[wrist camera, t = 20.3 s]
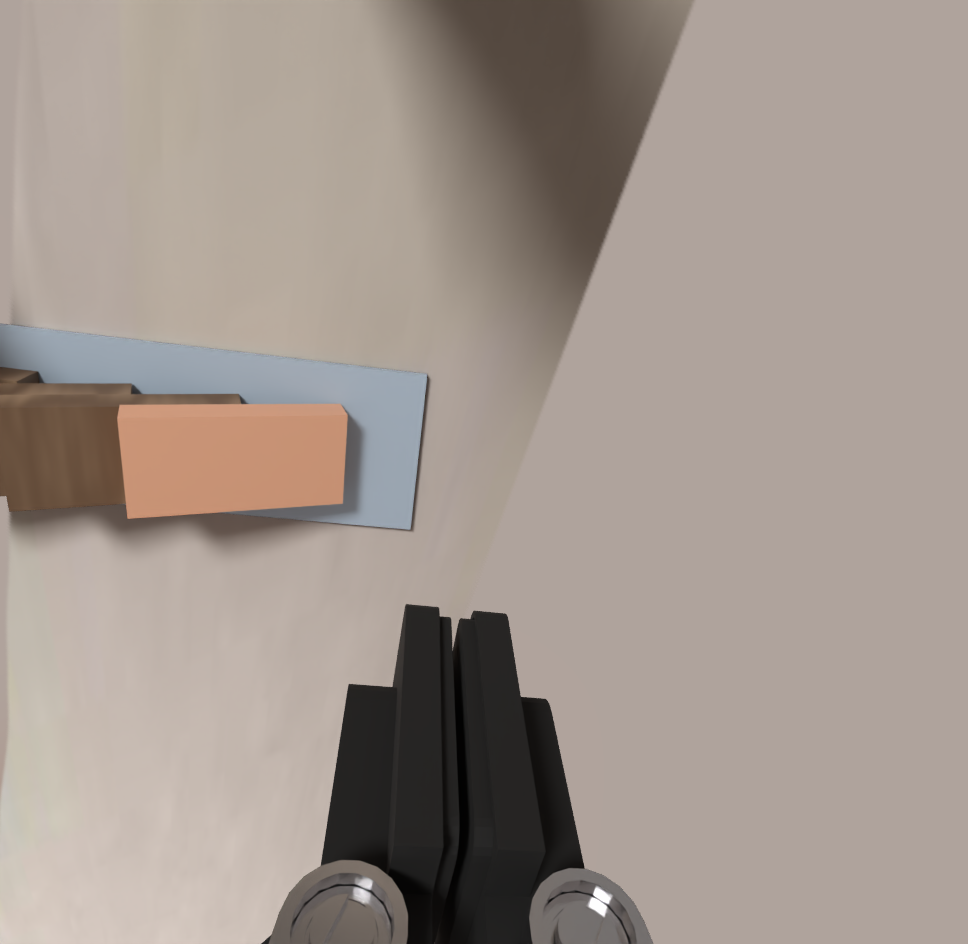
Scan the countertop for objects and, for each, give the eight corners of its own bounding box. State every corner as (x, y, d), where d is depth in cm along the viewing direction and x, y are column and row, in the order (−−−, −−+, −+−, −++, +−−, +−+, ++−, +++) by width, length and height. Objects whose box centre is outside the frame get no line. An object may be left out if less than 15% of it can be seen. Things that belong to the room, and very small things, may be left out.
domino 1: (140, 473, 41) (-104, 486, 36) (131, 383, 38) (-132, 383, 33) (139, 487, 39) (-117, 503, 34) (130, 394, 37) (-147, 396, 31)
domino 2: (240, 481, 41) (16, 494, 36) (238, 393, 39) (-3, 394, 34) (243, 495, 40) (9, 511, 35) (241, 405, 37) (-11, 408, 32)
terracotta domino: (347, 415, 38) (117, 418, 33) (342, 503, 41) (127, 518, 36) (340, 403, 40) (119, 404, 35) (336, 489, 42) (129, 501, 37)
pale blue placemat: (-8, 322, 37) (-12, 324, 36) (427, 374, 40) (427, 375, 39) (22, 492, 41) (18, 495, 41) (410, 526, 44) (410, 529, 44)
